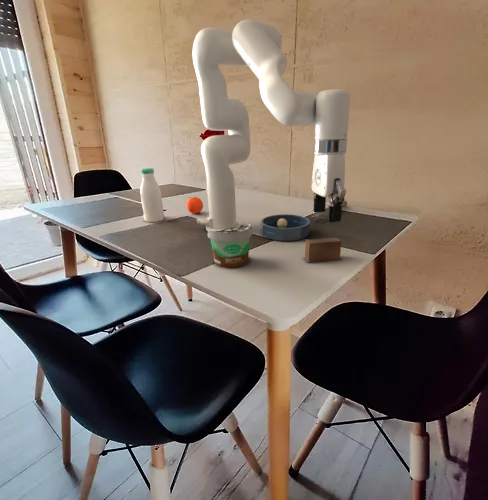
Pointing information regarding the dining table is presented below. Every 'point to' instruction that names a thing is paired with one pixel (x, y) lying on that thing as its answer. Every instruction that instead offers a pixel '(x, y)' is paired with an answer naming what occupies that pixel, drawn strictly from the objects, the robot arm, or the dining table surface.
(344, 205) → the kitchen whisk
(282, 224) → the dough ball
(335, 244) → the brown wooden block
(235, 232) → the food container
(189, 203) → the clementine
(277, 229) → the bowl
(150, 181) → the milk bottle
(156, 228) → the dining table surface
